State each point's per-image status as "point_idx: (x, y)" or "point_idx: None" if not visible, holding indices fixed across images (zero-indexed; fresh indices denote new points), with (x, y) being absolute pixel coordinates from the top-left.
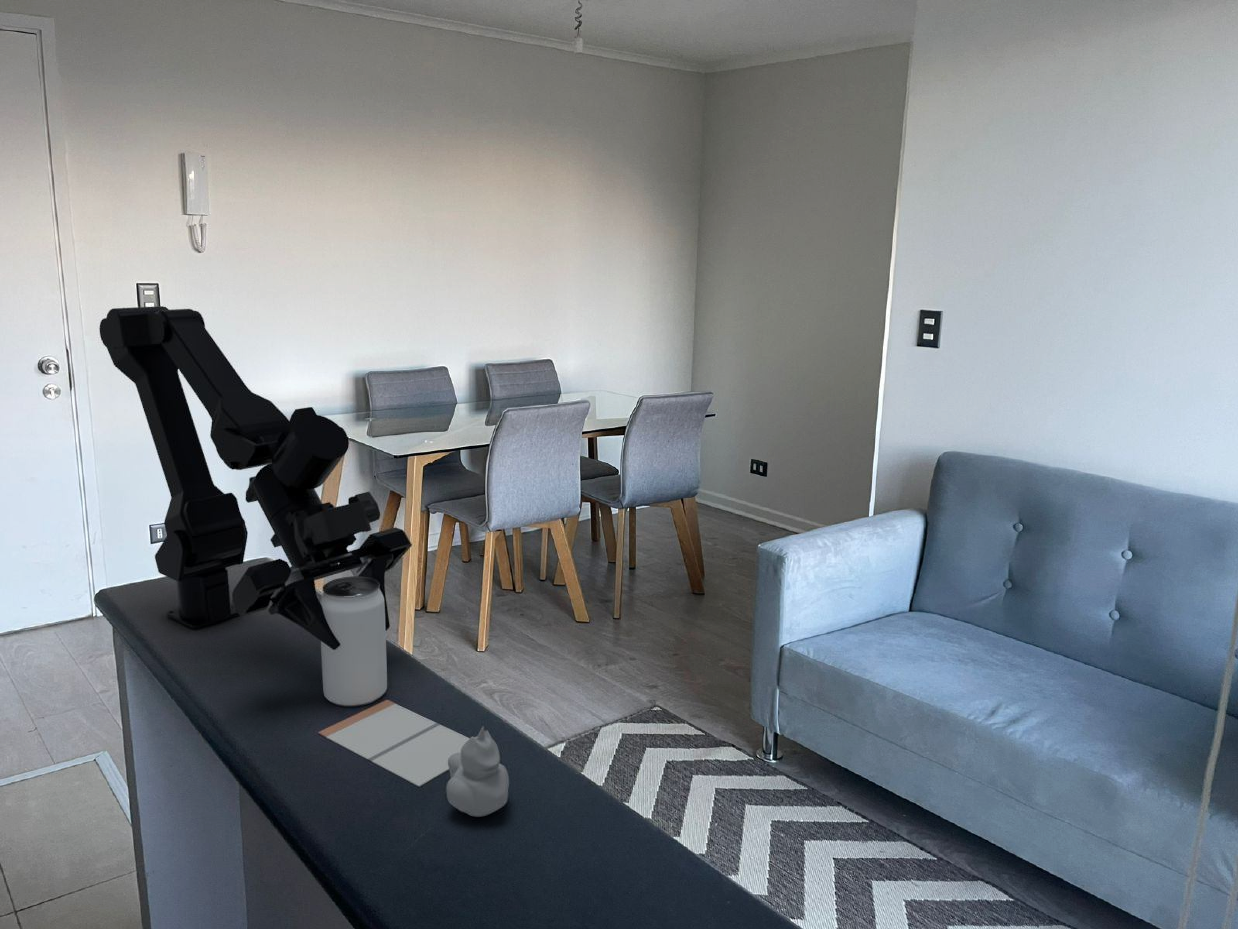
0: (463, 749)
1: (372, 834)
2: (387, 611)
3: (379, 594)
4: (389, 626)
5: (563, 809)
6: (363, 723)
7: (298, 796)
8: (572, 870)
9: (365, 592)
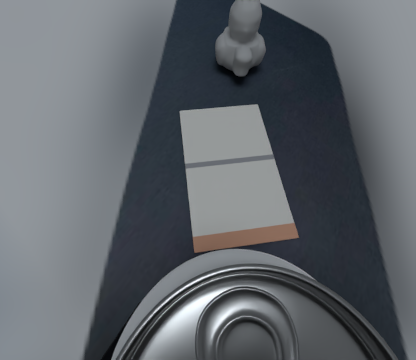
0: (261, 10)
1: (310, 86)
2: (114, 340)
3: (160, 296)
4: (140, 302)
5: (195, 39)
6: (247, 220)
7: (346, 152)
8: (229, 12)
9: (224, 323)
